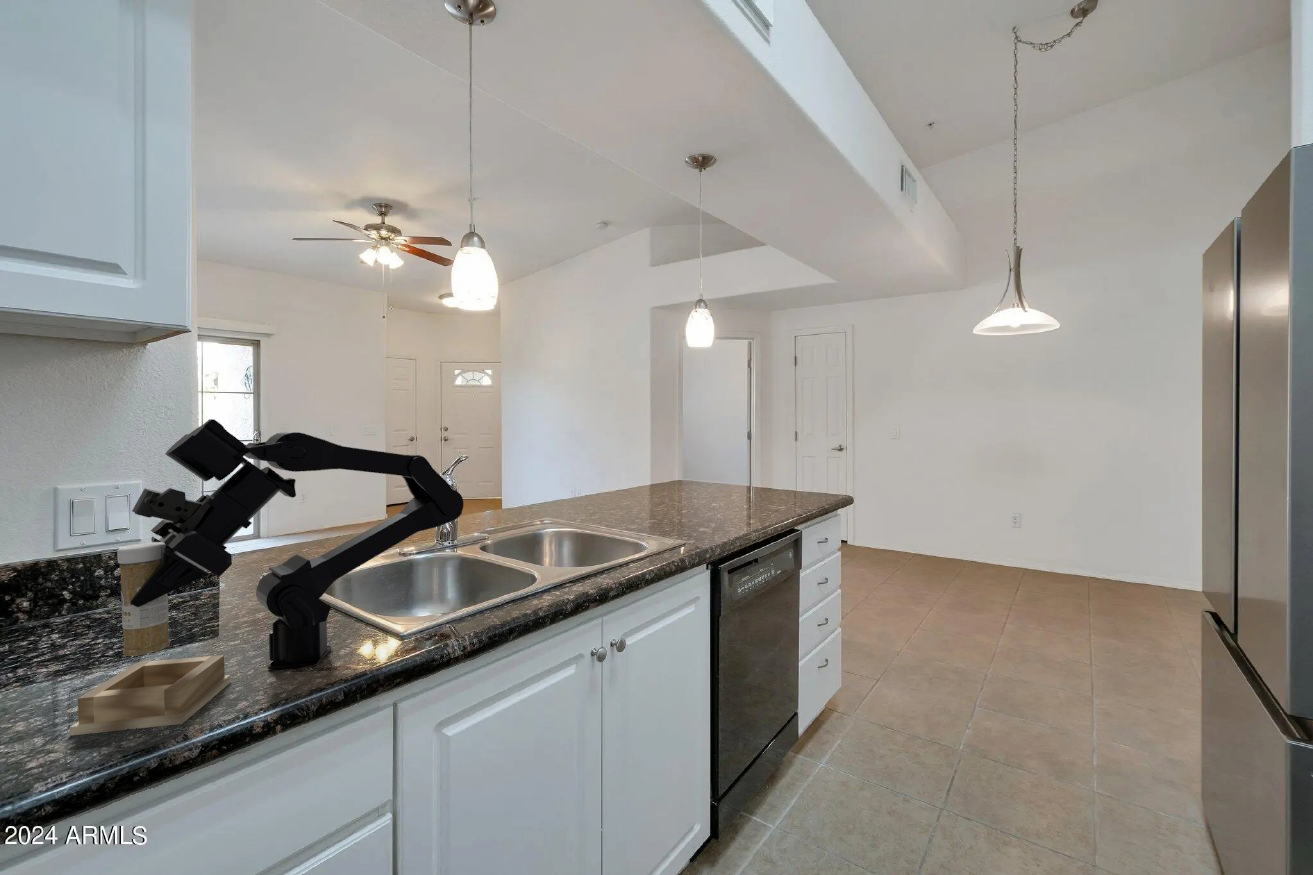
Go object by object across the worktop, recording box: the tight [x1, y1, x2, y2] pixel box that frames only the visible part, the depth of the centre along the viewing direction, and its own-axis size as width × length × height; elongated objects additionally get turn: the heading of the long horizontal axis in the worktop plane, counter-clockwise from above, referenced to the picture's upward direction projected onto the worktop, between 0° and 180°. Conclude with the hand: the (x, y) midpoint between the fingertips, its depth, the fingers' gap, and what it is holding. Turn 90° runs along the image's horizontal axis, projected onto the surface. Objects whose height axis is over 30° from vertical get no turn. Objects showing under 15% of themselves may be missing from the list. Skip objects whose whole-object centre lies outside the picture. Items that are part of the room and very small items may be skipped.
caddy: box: [69, 654, 232, 737], centre depth 70 cm, size 11×11×4 cm
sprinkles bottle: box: [117, 541, 171, 657], centre depth 71 cm, size 5×5×13 cm
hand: (131, 601), depth 70 cm, fingers closed on sprinkles bottle, 4 cm apart
